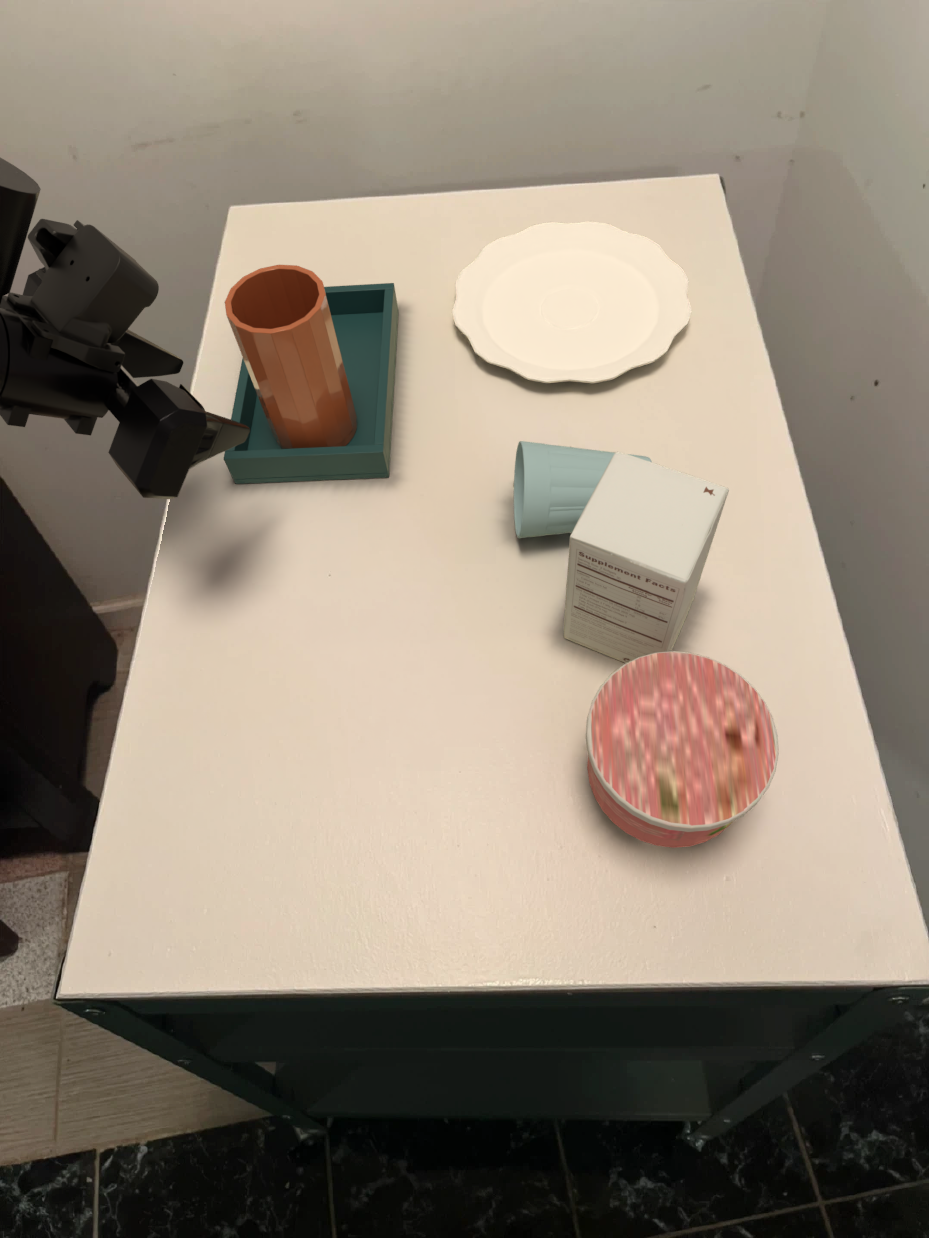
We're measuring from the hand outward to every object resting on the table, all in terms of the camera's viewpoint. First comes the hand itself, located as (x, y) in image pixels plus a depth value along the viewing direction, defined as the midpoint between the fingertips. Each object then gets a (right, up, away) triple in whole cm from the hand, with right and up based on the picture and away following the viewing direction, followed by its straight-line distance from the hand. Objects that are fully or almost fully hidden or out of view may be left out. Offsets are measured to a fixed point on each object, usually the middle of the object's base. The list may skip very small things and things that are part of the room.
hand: (212, 399), depth 60 cm
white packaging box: (+30, -16, -1) cm, 34 cm away
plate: (+28, +12, +15) cm, 34 cm away
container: (+31, -26, -7) cm, 41 cm away
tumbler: (+6, 0, +9) cm, 11 cm away
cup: (+30, -3, +3) cm, 31 cm away
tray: (+6, +4, +12) cm, 14 cm away
